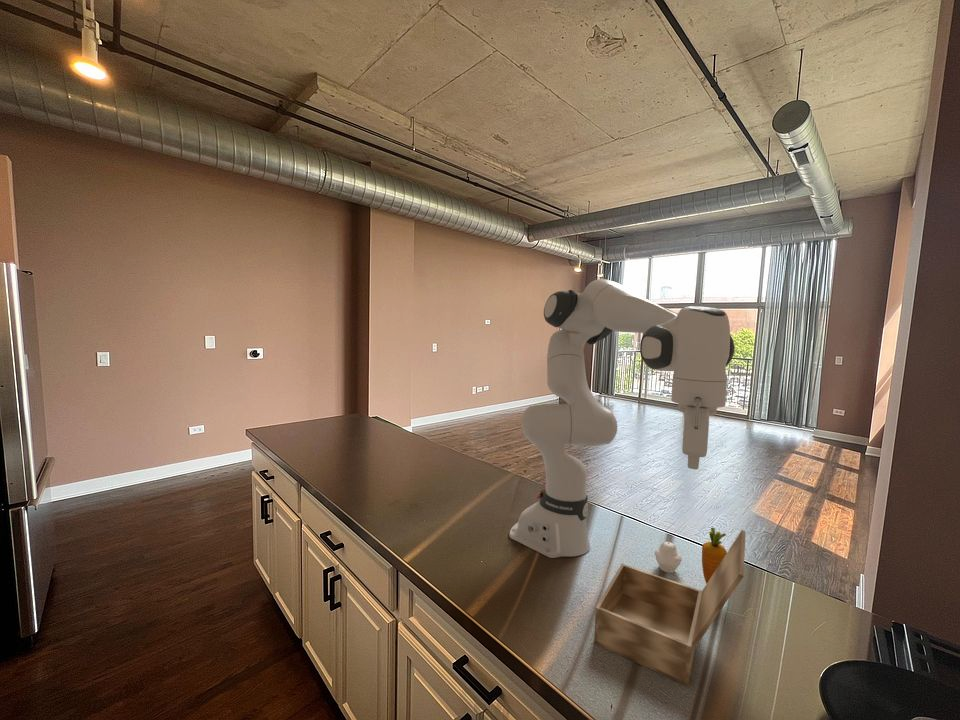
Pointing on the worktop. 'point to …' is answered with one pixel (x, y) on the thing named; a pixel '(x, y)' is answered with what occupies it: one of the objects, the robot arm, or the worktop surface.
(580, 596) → the worktop surface
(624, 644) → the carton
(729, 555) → the lid
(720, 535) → the carrot
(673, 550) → the white rounded figure
